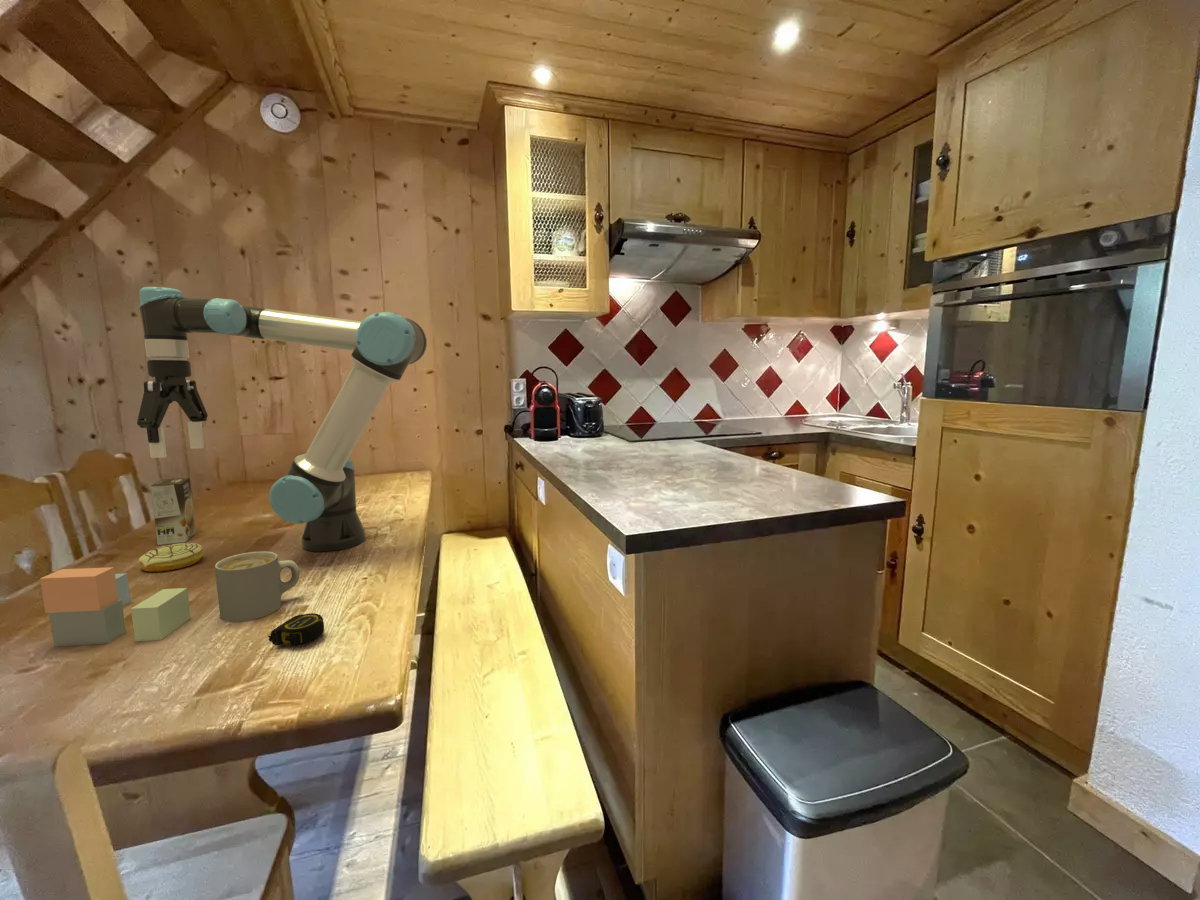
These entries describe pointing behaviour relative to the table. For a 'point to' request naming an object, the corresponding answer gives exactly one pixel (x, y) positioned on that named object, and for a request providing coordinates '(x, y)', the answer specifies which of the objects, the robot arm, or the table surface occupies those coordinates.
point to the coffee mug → (252, 585)
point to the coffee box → (173, 510)
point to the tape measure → (298, 630)
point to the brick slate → (88, 626)
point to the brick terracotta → (79, 590)
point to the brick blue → (123, 588)
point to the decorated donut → (171, 557)
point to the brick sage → (160, 614)
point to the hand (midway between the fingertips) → (179, 452)
